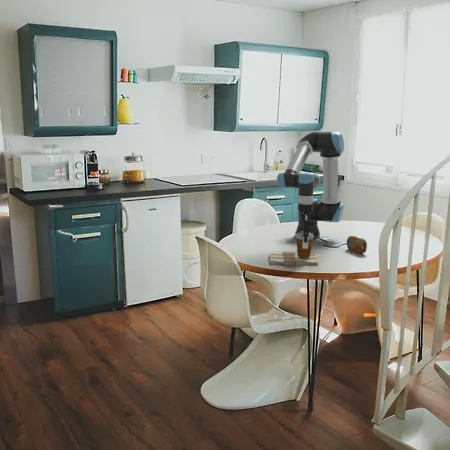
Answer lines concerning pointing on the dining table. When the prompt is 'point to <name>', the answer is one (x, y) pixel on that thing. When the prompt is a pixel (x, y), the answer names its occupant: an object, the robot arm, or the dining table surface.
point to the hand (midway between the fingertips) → (304, 245)
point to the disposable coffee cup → (302, 252)
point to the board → (291, 259)
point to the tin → (356, 244)
